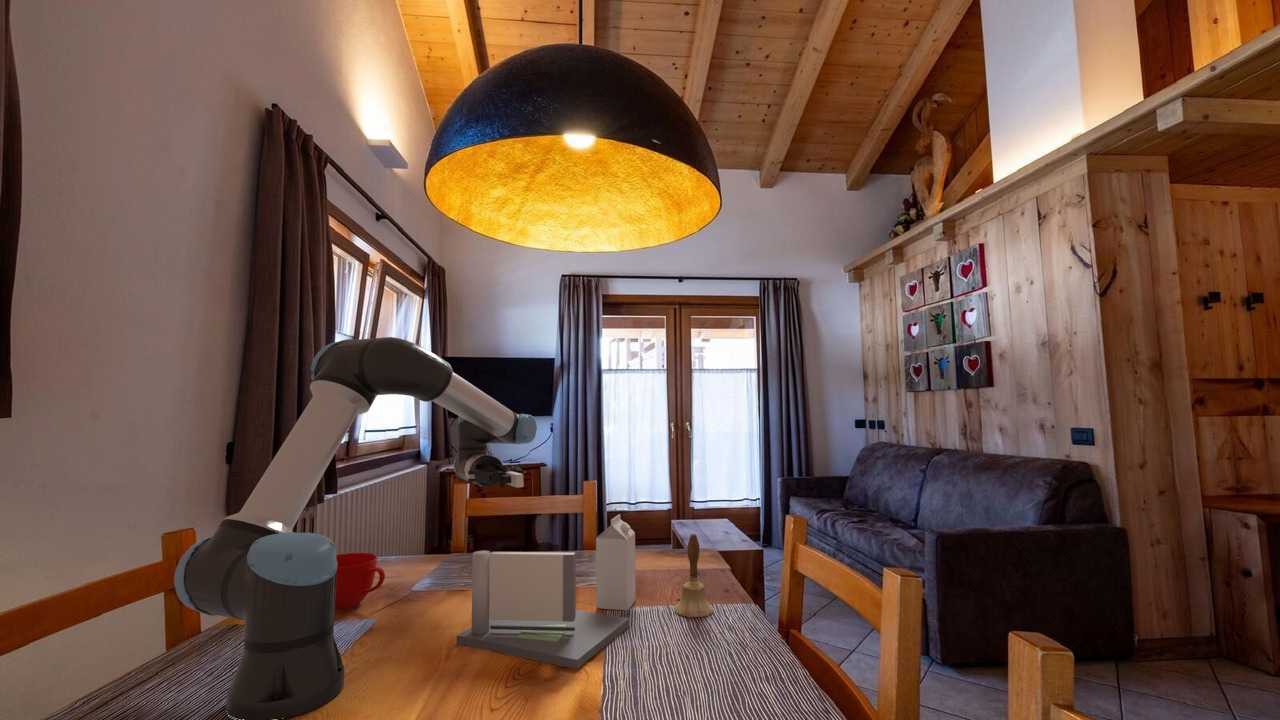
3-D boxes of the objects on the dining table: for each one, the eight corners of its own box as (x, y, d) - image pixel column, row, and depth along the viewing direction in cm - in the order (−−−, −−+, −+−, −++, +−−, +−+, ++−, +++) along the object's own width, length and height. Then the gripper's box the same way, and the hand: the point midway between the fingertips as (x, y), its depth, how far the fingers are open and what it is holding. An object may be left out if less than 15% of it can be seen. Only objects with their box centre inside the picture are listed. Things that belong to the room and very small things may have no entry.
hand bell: (712, 604, 121) (711, 530, 123) (713, 618, 113) (712, 539, 115) (674, 603, 122) (673, 530, 124) (673, 617, 114) (672, 538, 116)
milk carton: (596, 609, 119) (595, 519, 121) (605, 598, 126) (605, 513, 128) (627, 611, 118) (626, 520, 120) (635, 600, 125) (635, 514, 126)
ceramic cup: (359, 621, 114) (361, 571, 115) (295, 613, 119) (297, 565, 120) (402, 600, 126) (404, 555, 127) (342, 594, 131) (344, 551, 132)
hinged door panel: (468, 634, 102) (470, 554, 104) (475, 627, 106) (476, 550, 107) (572, 636, 101) (572, 555, 102) (576, 629, 104) (576, 551, 105)
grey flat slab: (577, 669, 92) (577, 658, 92) (456, 643, 102) (456, 634, 102) (629, 626, 110) (629, 617, 110) (522, 608, 120) (522, 600, 121)
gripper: (509, 482, 142) (548, 494, 123) (458, 488, 135) (491, 502, 115) (508, 452, 143) (547, 460, 123) (457, 457, 135) (490, 466, 116)
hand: (520, 480), depth 119 cm, fingers closed
